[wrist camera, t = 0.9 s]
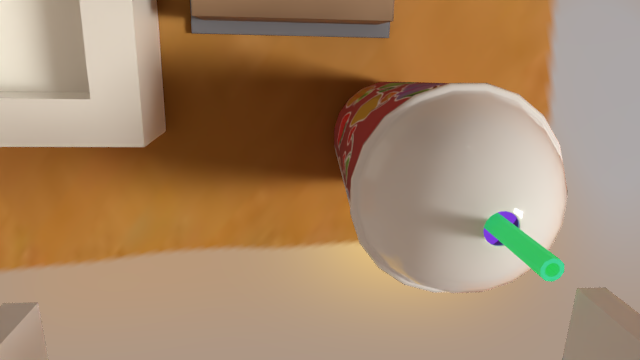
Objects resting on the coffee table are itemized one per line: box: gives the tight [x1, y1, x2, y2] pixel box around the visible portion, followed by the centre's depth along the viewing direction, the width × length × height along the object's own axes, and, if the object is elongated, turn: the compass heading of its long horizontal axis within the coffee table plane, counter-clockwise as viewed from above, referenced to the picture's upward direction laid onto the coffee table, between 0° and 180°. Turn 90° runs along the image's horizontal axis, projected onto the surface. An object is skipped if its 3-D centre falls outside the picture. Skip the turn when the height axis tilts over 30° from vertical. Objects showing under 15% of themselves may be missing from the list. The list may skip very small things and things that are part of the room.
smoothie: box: [334, 82, 568, 293], centre depth 21 cm, size 8×8×20 cm
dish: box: [0, 0, 166, 147], centre depth 25 cm, size 12×12×5 cm
